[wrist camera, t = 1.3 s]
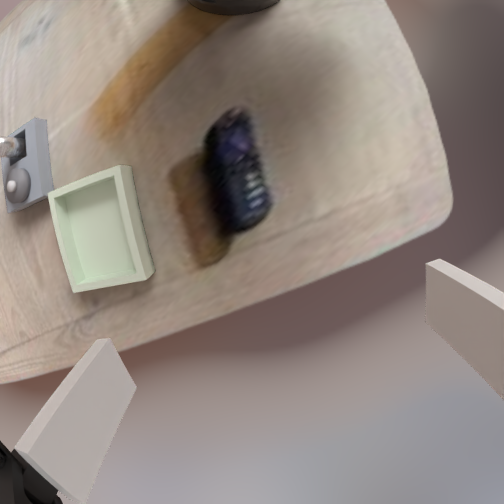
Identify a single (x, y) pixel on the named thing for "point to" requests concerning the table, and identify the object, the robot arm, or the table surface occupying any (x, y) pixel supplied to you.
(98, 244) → the tray
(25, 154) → the lock pin
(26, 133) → the block
